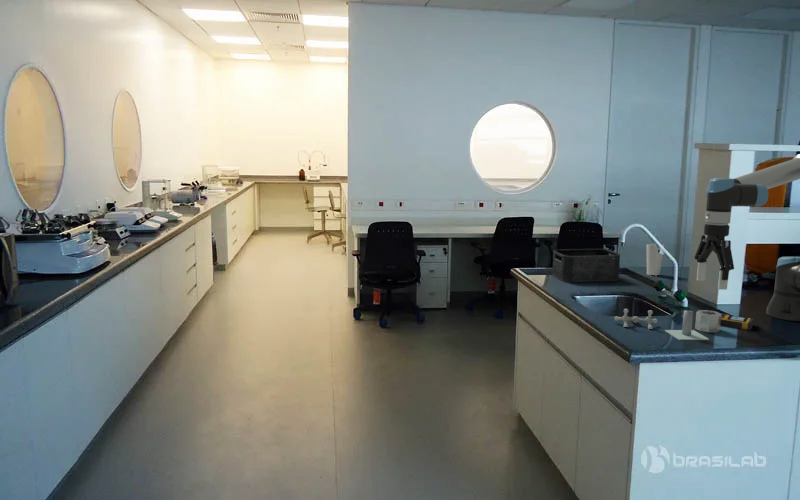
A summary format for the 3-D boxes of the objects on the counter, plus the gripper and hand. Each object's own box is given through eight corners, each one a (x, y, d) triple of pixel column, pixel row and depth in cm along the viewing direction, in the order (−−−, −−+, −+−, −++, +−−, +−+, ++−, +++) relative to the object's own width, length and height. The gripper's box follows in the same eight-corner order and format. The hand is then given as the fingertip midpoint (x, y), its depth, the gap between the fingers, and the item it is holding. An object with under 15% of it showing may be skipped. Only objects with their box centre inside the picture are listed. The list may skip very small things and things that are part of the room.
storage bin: (564, 282, 279) (565, 255, 276) (549, 274, 298) (551, 248, 295) (621, 282, 281) (623, 254, 279) (603, 274, 300) (605, 248, 298)
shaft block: (693, 331, 202) (695, 307, 200) (709, 340, 192) (711, 315, 191) (664, 331, 202) (666, 307, 200) (679, 340, 192) (681, 315, 190)
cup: (645, 276, 295) (647, 245, 293) (642, 272, 303) (644, 243, 301) (663, 276, 293) (666, 246, 291) (660, 273, 301) (662, 244, 299)
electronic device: (704, 319, 219) (705, 310, 219) (753, 326, 210) (754, 317, 209) (700, 324, 212) (701, 315, 212) (750, 331, 203) (751, 322, 203)
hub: (711, 326, 208) (713, 310, 207) (723, 332, 200) (725, 315, 200) (691, 326, 207) (693, 310, 206) (702, 332, 200) (704, 315, 199)
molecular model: (612, 331, 214) (617, 330, 205) (611, 310, 216) (616, 308, 206) (654, 330, 212) (661, 329, 202) (653, 309, 213) (659, 307, 203)
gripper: (687, 219, 210) (682, 277, 214) (727, 228, 186) (720, 293, 189) (708, 219, 210) (702, 277, 214) (750, 228, 186) (743, 293, 189)
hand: (711, 284), depth 201 cm, fingers open, 13 cm apart
